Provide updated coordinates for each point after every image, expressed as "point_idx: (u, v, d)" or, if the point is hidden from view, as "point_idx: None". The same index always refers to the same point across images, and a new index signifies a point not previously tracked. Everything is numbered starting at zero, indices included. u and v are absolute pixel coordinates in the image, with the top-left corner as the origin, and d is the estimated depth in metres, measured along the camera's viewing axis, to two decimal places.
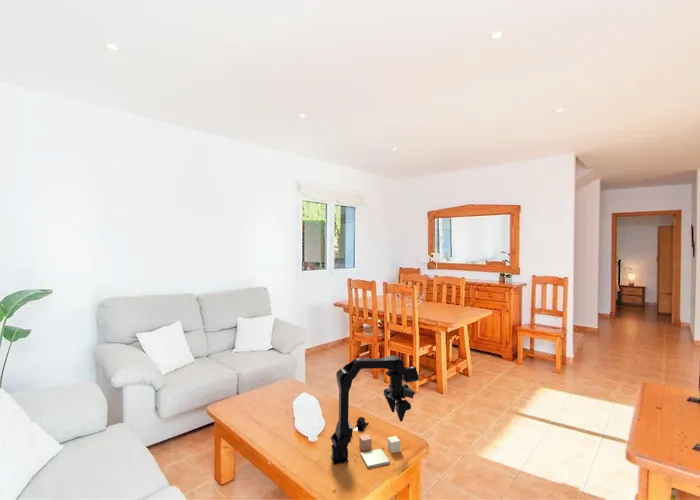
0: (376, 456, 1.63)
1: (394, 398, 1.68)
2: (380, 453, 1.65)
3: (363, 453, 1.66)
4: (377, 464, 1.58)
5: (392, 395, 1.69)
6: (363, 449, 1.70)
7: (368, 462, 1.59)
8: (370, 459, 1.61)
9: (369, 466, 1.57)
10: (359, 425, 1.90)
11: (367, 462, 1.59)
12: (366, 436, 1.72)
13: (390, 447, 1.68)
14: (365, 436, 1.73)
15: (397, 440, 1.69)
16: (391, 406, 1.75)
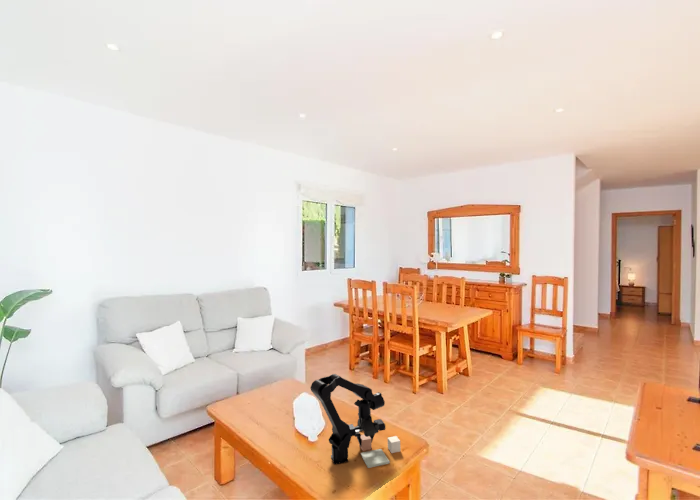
0: (376, 456, 1.63)
1: (358, 423, 1.73)
2: (380, 453, 1.65)
3: (363, 453, 1.66)
4: (377, 464, 1.58)
5: None
6: (363, 449, 1.70)
7: (368, 462, 1.59)
8: (370, 459, 1.61)
9: (369, 466, 1.57)
10: None
11: (367, 462, 1.59)
12: None
13: (390, 447, 1.68)
14: (365, 436, 1.73)
15: (397, 440, 1.69)
16: None
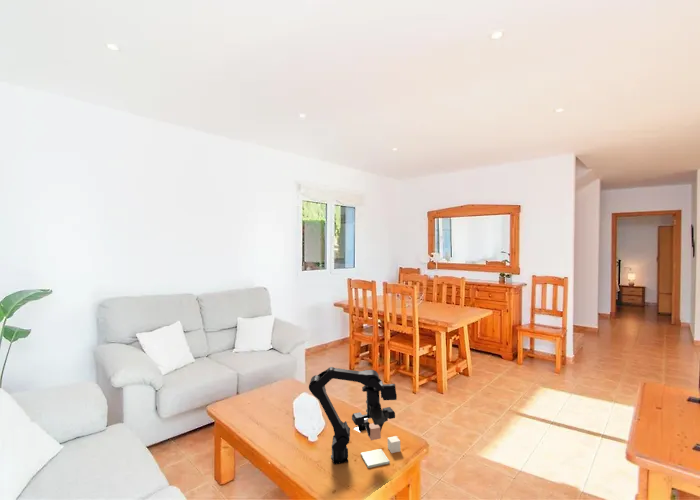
0: (376, 456, 1.63)
1: (366, 411, 1.64)
2: (380, 453, 1.65)
3: (363, 453, 1.66)
4: (377, 464, 1.58)
5: None
6: (372, 438, 1.60)
7: (368, 462, 1.59)
8: (370, 459, 1.61)
9: (369, 466, 1.57)
10: (359, 425, 1.90)
11: (367, 462, 1.59)
12: (374, 425, 1.63)
13: (390, 447, 1.68)
14: (374, 425, 1.64)
15: (397, 440, 1.69)
16: None
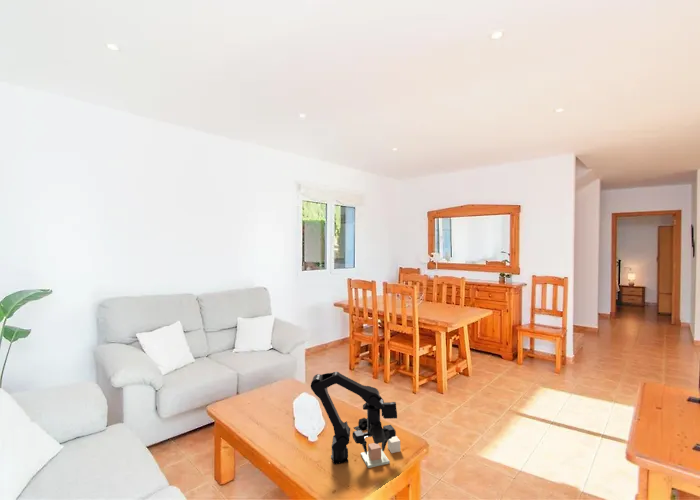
0: None
1: (367, 429, 1.64)
2: None
3: (363, 453, 1.66)
4: (377, 464, 1.58)
5: None
6: (372, 459, 1.60)
7: (368, 462, 1.59)
8: (370, 459, 1.61)
9: (369, 466, 1.57)
10: (360, 425, 1.90)
11: (367, 462, 1.59)
12: (375, 445, 1.63)
13: (390, 447, 1.68)
14: (374, 445, 1.64)
15: (397, 440, 1.69)
16: (382, 443, 1.65)
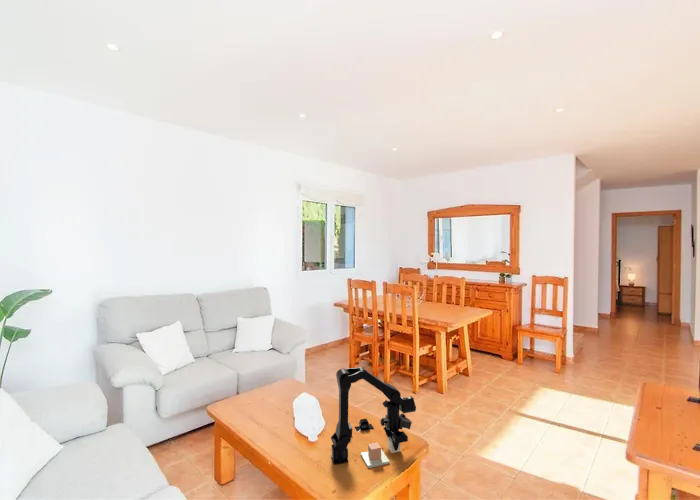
0: None
1: (391, 429, 1.67)
2: None
3: (363, 453, 1.66)
4: (377, 464, 1.58)
5: (389, 426, 1.68)
6: (372, 459, 1.60)
7: (368, 462, 1.59)
8: (370, 459, 1.61)
9: (369, 466, 1.57)
10: (360, 425, 1.90)
11: (367, 462, 1.59)
12: (375, 445, 1.63)
13: (390, 447, 1.68)
14: (374, 445, 1.64)
15: None
16: None
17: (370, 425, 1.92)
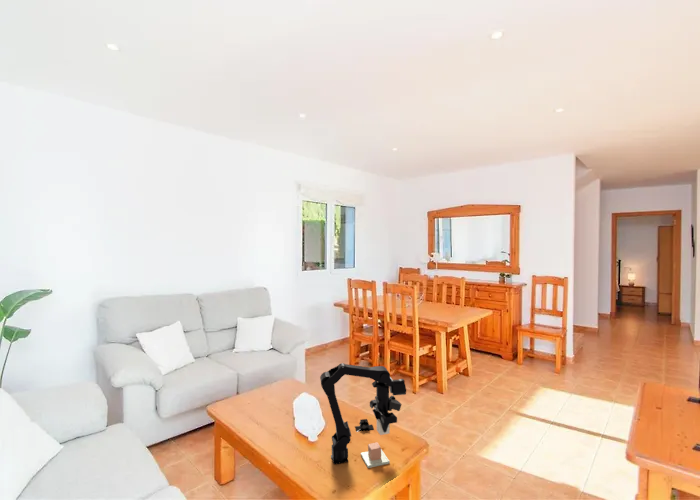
0: None
1: (380, 410, 1.63)
2: None
3: (363, 453, 1.66)
4: (377, 464, 1.58)
5: (378, 407, 1.64)
6: (372, 459, 1.60)
7: (368, 462, 1.59)
8: (370, 459, 1.61)
9: (369, 466, 1.57)
10: (360, 425, 1.89)
11: (367, 462, 1.59)
12: (375, 445, 1.63)
13: (379, 429, 1.64)
14: (374, 445, 1.64)
15: None
16: None
17: (371, 426, 1.91)
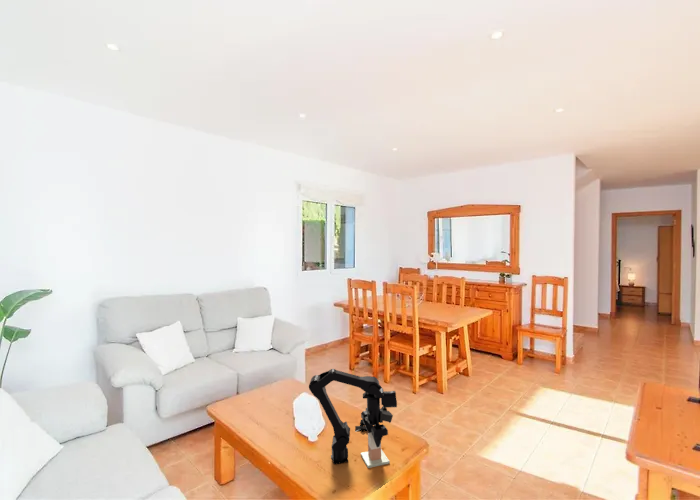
0: None
1: (371, 422, 1.60)
2: None
3: (363, 453, 1.66)
4: (377, 464, 1.58)
5: (369, 419, 1.61)
6: (372, 459, 1.60)
7: (368, 462, 1.59)
8: (370, 459, 1.61)
9: (369, 466, 1.57)
10: (360, 425, 1.89)
11: (367, 462, 1.59)
12: None
13: (370, 443, 1.61)
14: None
15: None
16: (368, 430, 1.67)
17: None
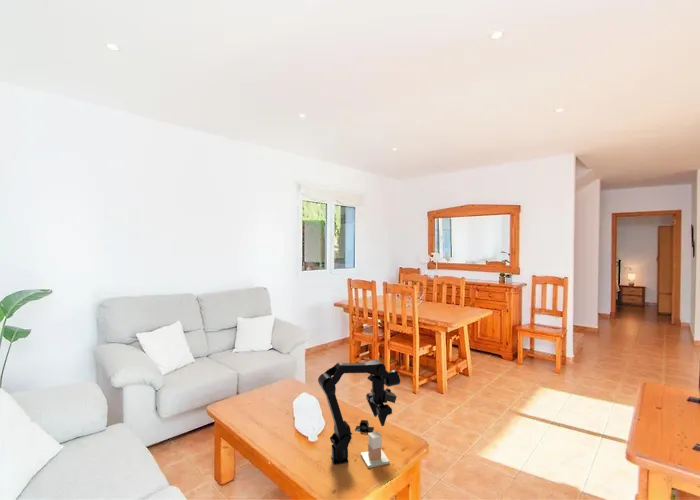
0: None
1: (376, 403, 1.68)
2: None
3: (363, 453, 1.66)
4: (377, 464, 1.58)
5: (374, 400, 1.69)
6: (372, 459, 1.60)
7: (368, 462, 1.59)
8: (370, 459, 1.61)
9: (369, 466, 1.57)
10: (360, 425, 1.89)
11: (367, 462, 1.59)
12: None
13: (371, 443, 1.61)
14: None
15: (378, 435, 1.62)
16: (373, 410, 1.75)
17: (371, 428, 1.89)
